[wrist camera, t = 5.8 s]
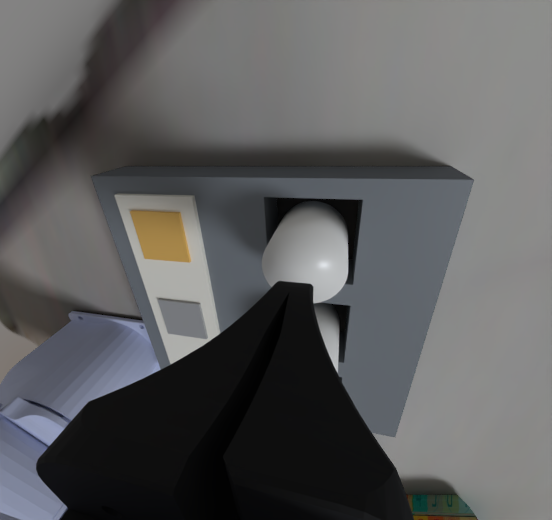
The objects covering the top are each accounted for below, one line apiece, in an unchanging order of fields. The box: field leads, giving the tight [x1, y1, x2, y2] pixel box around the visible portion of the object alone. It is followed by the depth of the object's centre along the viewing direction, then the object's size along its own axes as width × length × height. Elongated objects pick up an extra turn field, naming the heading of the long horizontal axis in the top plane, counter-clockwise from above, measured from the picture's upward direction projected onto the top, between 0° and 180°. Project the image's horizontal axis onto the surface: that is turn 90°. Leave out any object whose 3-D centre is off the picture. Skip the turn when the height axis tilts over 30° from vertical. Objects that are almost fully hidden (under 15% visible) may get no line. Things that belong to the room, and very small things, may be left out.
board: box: [91, 166, 474, 437], centre depth 20 cm, size 20×20×4 cm
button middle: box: [314, 302, 340, 373], centre depth 17 cm, size 4×4×4 cm
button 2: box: [262, 201, 348, 303], centre depth 14 cm, size 4×4×4 cm
